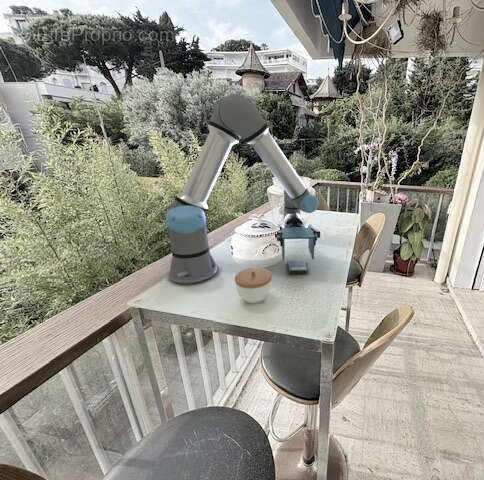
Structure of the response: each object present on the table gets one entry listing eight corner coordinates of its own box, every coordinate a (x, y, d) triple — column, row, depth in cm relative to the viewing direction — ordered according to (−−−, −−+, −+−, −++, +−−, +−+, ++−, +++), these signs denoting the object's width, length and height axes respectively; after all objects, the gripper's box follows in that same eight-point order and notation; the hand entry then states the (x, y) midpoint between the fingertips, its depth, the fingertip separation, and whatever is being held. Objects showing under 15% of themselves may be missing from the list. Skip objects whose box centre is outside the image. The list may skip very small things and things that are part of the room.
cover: (281, 248, 103) (281, 227, 100) (309, 247, 105) (310, 227, 102) (282, 260, 93) (282, 237, 90) (313, 259, 95) (314, 237, 92)
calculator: (288, 264, 105) (288, 260, 104) (304, 263, 106) (304, 260, 105) (289, 274, 97) (289, 270, 96) (306, 273, 98) (306, 270, 97)
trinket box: (252, 312, 75) (250, 284, 72) (229, 298, 81) (226, 271, 78) (279, 296, 83) (278, 270, 80) (256, 285, 89) (255, 259, 86)
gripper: (320, 231, 117) (330, 251, 96) (266, 232, 113) (264, 253, 92) (321, 215, 114) (331, 231, 94) (265, 215, 110) (263, 232, 90)
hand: (298, 242), depth 93 cm, fingers closed on cover, 11 cm apart
